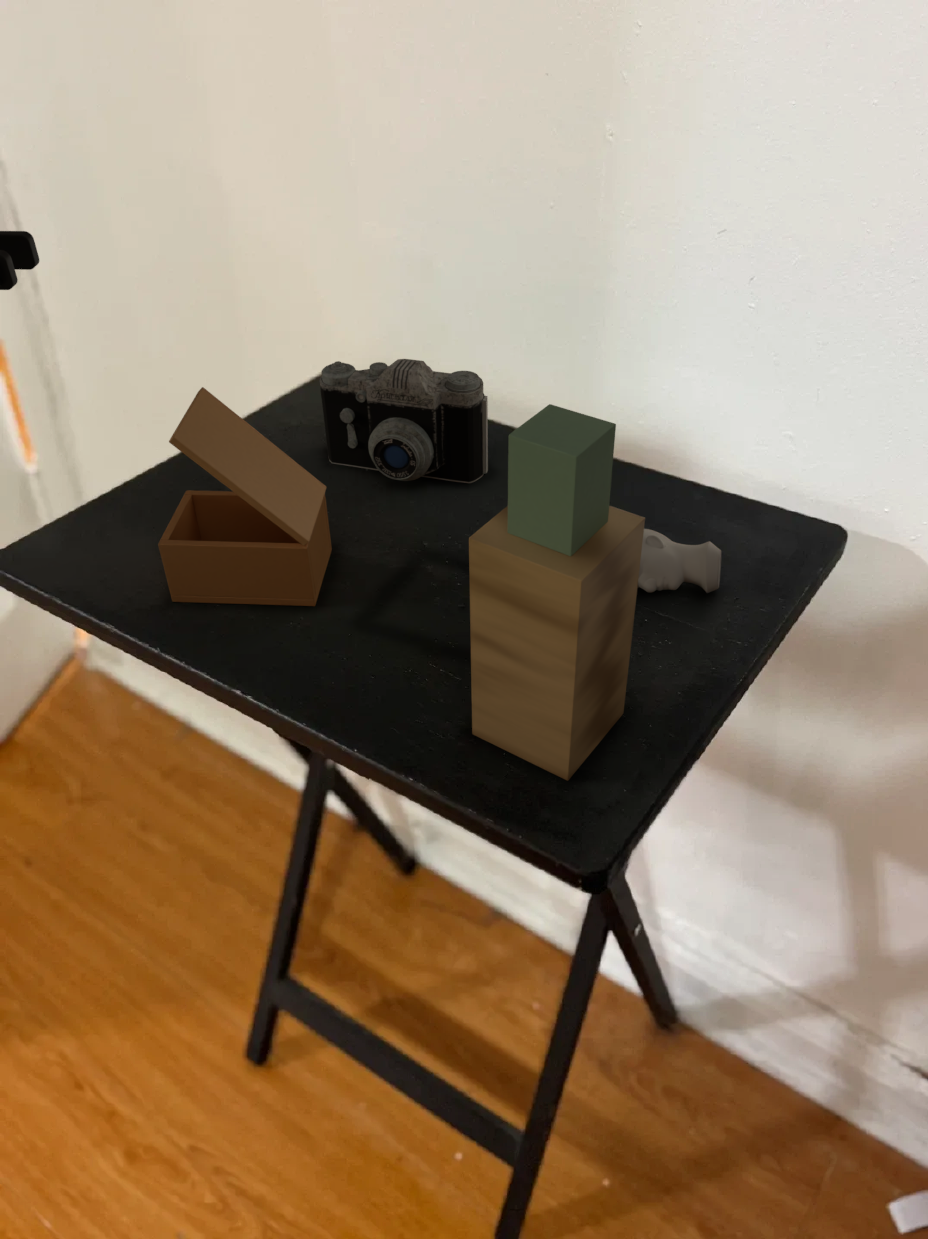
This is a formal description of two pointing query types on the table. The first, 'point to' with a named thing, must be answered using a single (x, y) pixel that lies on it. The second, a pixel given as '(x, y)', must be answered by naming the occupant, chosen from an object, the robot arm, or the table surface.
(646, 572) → the pale two-lobed sculpture
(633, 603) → the post
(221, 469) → the case lid
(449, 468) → the camera
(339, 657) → the table surface
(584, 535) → the block
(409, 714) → the table surface
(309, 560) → the case
